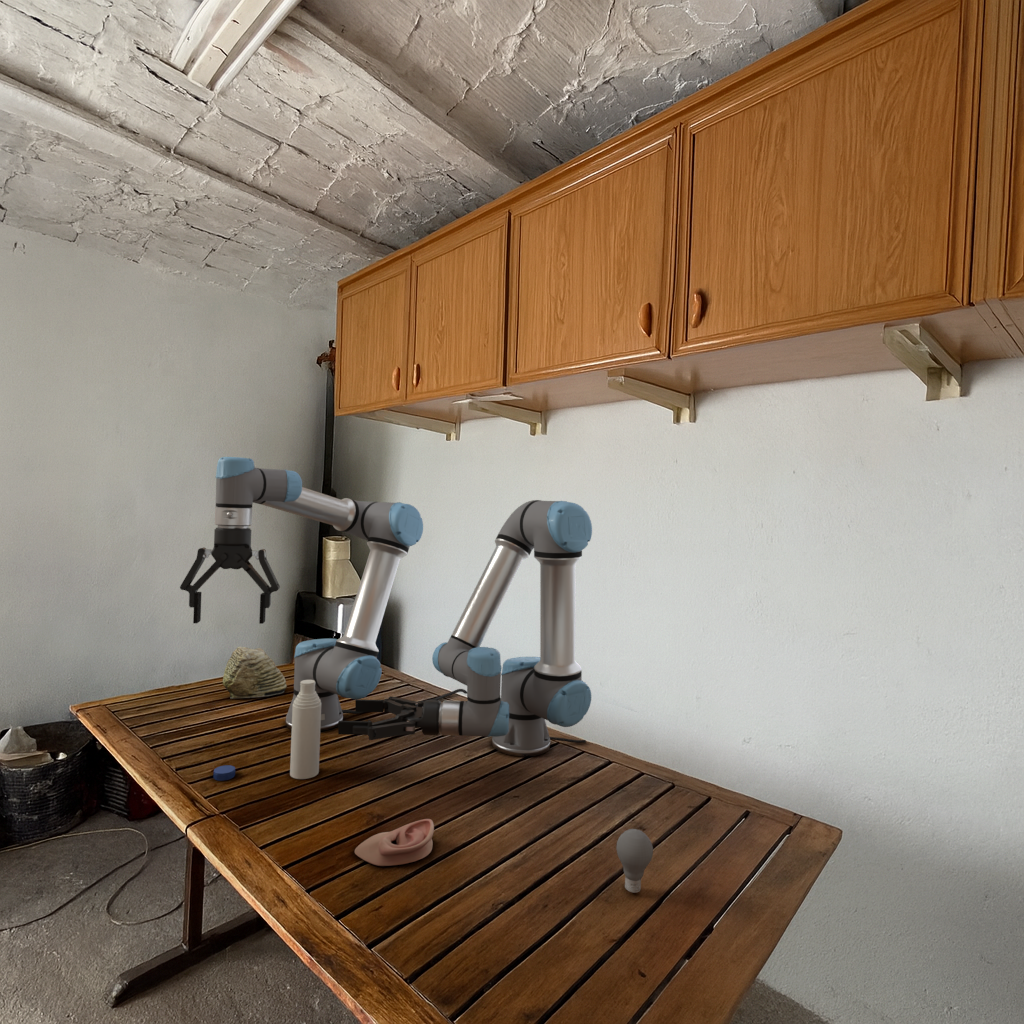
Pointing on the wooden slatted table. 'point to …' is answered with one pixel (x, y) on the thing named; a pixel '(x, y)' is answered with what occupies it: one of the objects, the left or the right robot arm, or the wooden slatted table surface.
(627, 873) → the light bulb
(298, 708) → the bottle
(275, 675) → the fossil
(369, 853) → the anatomical model
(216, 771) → the cap
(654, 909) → the wooden slatted table surface
